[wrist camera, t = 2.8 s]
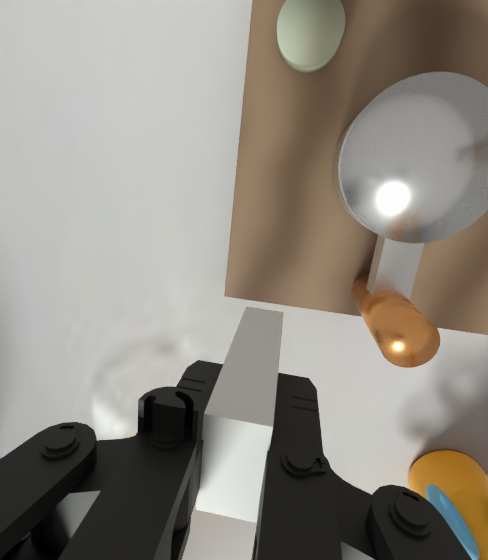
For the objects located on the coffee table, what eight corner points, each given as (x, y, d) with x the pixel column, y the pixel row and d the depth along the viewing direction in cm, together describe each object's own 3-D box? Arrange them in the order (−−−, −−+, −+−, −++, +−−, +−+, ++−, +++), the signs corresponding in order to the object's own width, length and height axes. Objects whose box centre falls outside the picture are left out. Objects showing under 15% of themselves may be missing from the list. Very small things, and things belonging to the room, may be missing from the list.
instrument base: (229, 288, 26) (219, 303, 23) (259, -18, 21) (253, -59, 17) (503, 327, 24) (538, 351, 21) (621, 1, 19) (695, -40, 15)
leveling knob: (345, 88, 20) (377, 31, 12) (489, 100, 19) (616, 46, 12) (308, 300, 23) (316, 353, 16) (427, 317, 23) (493, 381, 15)
